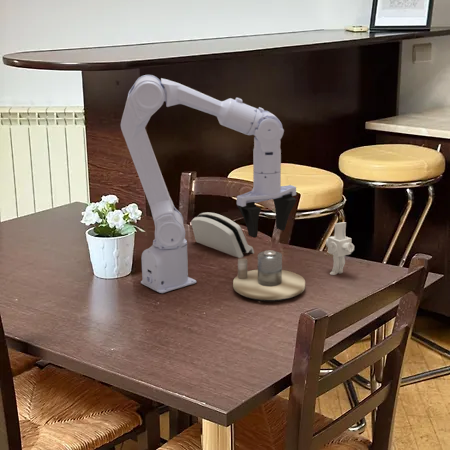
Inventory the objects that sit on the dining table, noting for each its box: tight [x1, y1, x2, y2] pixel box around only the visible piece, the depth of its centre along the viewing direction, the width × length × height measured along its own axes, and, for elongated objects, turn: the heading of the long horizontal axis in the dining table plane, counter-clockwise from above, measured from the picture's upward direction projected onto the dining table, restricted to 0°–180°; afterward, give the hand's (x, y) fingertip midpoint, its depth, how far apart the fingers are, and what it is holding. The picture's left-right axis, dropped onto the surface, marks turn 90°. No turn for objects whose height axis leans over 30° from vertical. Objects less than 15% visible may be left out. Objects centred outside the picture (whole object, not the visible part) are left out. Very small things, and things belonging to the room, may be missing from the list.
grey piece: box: [190, 211, 255, 259], centre depth 187 cm, size 17×5×10 cm, turn 41°
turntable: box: [232, 257, 306, 300], centre depth 161 cm, size 15×15×5 cm
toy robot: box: [325, 221, 355, 276], centre depth 169 cm, size 4×8×12 cm, turn 34°
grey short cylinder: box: [257, 249, 283, 286], centre depth 160 cm, size 5×5×7 cm
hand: (266, 232), depth 166 cm, fingers open, 7 cm apart
